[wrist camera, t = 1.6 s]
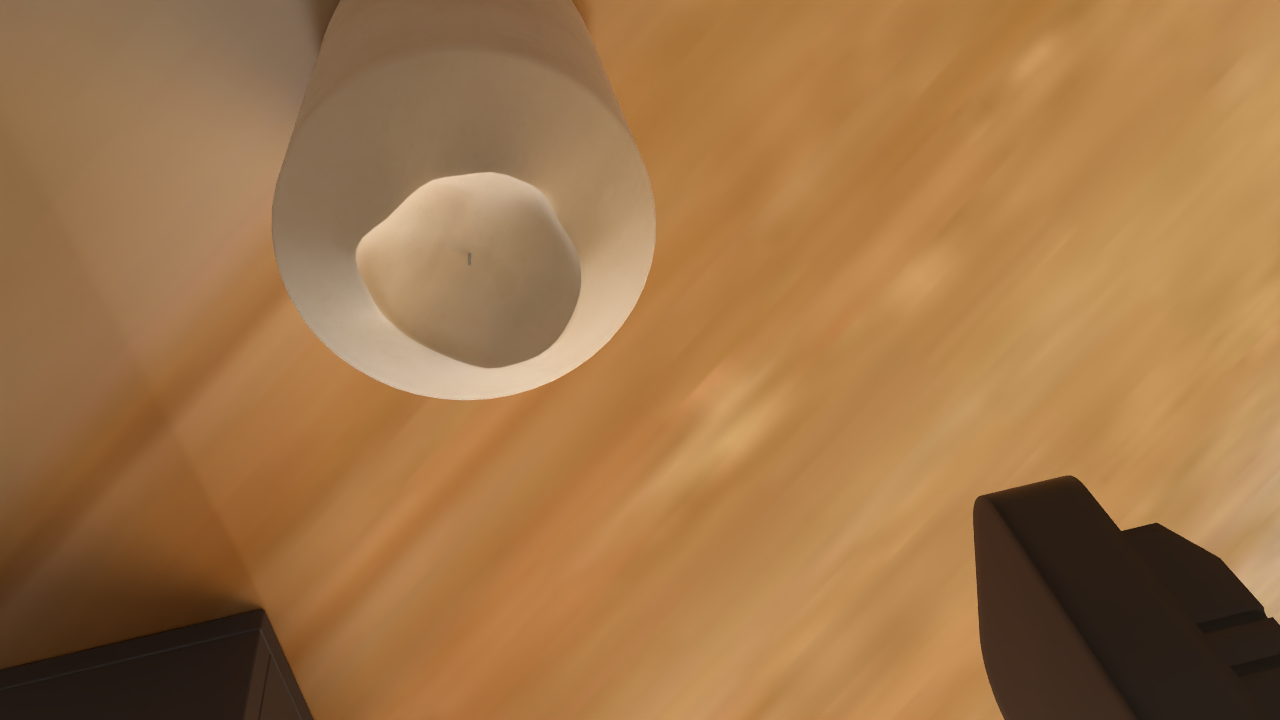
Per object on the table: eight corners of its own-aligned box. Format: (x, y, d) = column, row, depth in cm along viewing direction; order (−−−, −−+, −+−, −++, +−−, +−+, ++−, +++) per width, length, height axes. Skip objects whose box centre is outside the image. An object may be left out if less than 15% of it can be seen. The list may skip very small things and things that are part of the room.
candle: (282, 135, 25) (199, 374, 16) (384, -119, 23) (351, 2, 14) (525, 237, 27) (564, 500, 18) (640, 10, 25) (745, 186, 16)
